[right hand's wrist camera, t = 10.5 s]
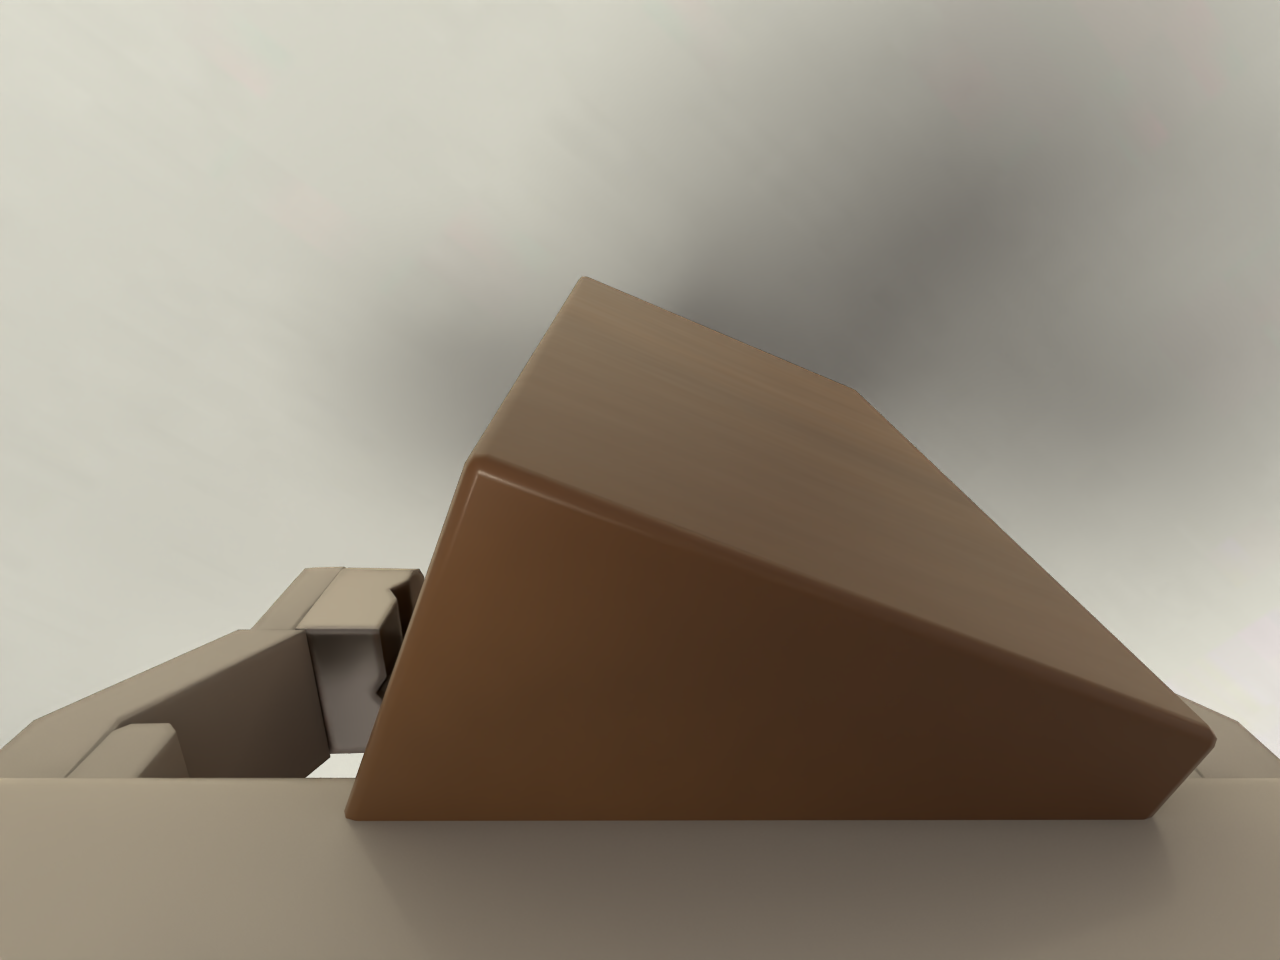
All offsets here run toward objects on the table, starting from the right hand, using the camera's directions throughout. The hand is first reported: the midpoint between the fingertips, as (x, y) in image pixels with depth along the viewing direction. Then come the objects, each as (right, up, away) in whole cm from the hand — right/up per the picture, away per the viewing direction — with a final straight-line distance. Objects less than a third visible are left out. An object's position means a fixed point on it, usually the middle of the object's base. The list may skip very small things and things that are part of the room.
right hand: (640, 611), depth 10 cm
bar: (-3, -6, +5) cm, 8 cm away
